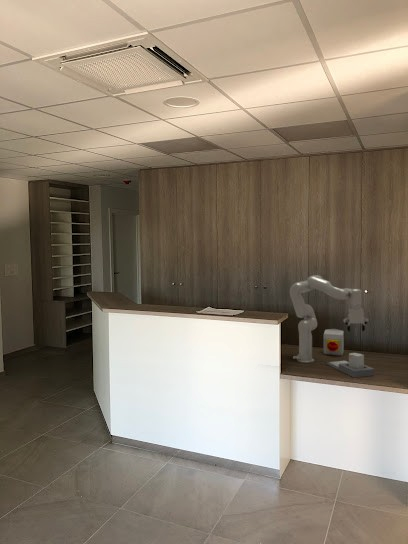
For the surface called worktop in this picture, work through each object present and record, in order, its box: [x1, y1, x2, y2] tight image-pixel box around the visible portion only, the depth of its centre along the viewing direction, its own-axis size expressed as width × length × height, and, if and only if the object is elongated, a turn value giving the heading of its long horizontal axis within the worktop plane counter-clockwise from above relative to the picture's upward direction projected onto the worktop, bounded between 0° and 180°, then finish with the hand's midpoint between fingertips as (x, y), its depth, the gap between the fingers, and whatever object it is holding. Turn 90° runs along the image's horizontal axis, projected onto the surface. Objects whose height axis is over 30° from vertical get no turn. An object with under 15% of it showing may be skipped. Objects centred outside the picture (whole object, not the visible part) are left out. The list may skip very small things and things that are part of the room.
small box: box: [348, 352, 365, 369], centre depth 311 cm, size 8×6×13 cm
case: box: [325, 360, 376, 379], centre depth 319 cm, size 16×34×4 cm, turn 16°
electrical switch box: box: [323, 328, 345, 356], centre depth 360 cm, size 14×15×20 cm
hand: (356, 331), depth 316 cm, fingers open, 9 cm apart
